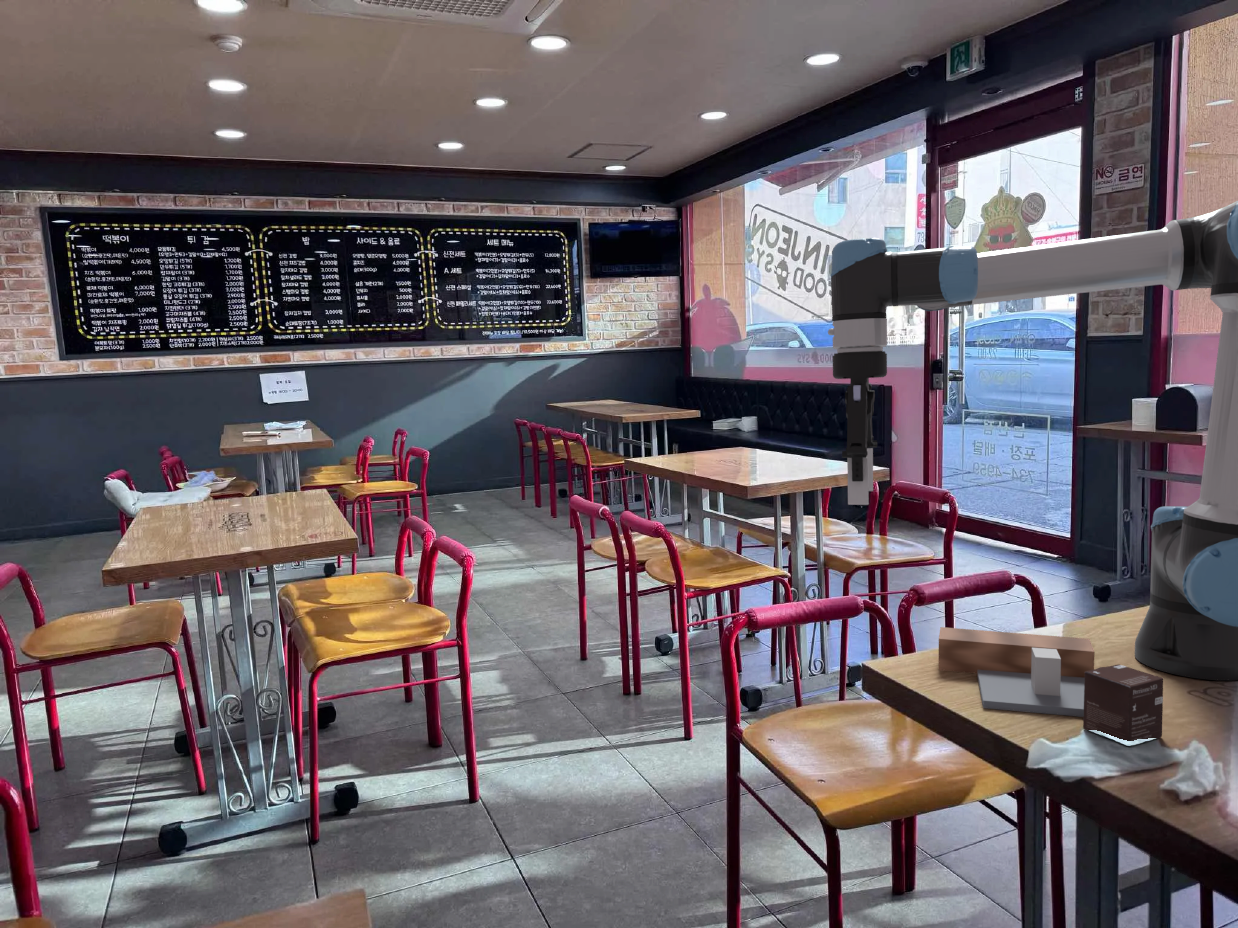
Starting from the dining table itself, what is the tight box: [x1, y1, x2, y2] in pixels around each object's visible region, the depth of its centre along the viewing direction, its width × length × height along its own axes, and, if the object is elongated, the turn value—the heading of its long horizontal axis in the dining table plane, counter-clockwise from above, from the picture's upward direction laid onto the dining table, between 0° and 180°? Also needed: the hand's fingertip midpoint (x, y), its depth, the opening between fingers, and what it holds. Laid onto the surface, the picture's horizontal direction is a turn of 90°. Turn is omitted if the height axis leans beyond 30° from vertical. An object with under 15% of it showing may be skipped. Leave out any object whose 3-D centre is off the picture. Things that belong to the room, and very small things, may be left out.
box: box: [1082, 664, 1164, 741], centre depth 102 cm, size 6×6×7 cm
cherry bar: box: [938, 626, 1095, 678], centre depth 125 cm, size 20×6×5 cm, turn 67°
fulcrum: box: [976, 648, 1085, 718], centre depth 114 cm, size 16×12×6 cm
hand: (861, 497), depth 125 cm, fingers open, 13 cm apart
